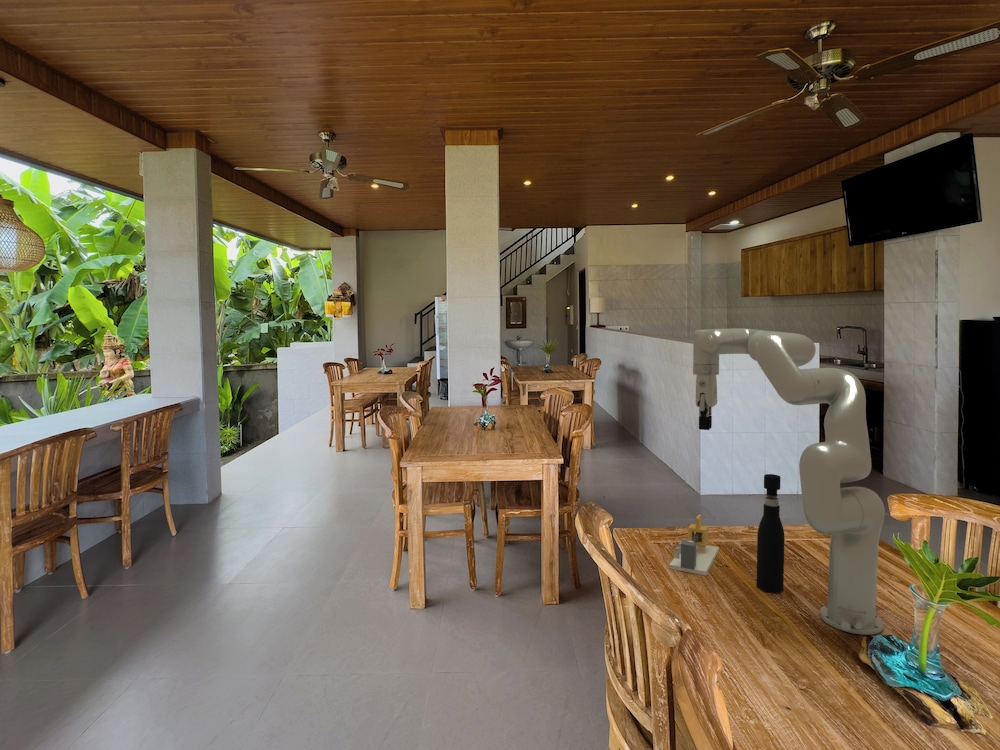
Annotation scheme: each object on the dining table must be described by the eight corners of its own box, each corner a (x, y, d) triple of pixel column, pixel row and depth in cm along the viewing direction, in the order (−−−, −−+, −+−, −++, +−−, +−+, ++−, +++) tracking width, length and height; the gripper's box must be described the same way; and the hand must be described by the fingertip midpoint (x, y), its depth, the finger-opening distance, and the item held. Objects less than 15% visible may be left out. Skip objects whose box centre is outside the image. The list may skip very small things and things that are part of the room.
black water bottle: (755, 590, 150) (757, 477, 148) (757, 580, 156) (759, 471, 154) (782, 595, 147) (785, 480, 145) (783, 585, 153) (786, 474, 151)
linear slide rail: (705, 576, 159) (706, 548, 159) (669, 569, 164) (669, 541, 164) (718, 550, 177) (719, 525, 176) (685, 545, 182) (685, 520, 181)
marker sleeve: (705, 546, 171) (706, 519, 171) (688, 543, 174) (688, 517, 173) (708, 542, 175) (708, 515, 174) (691, 539, 177) (691, 513, 177)
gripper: (714, 371, 169) (713, 434, 170) (723, 368, 182) (722, 425, 184) (687, 371, 173) (687, 432, 174) (698, 367, 186) (697, 424, 188)
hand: (705, 428), depth 179 cm, fingers closed
